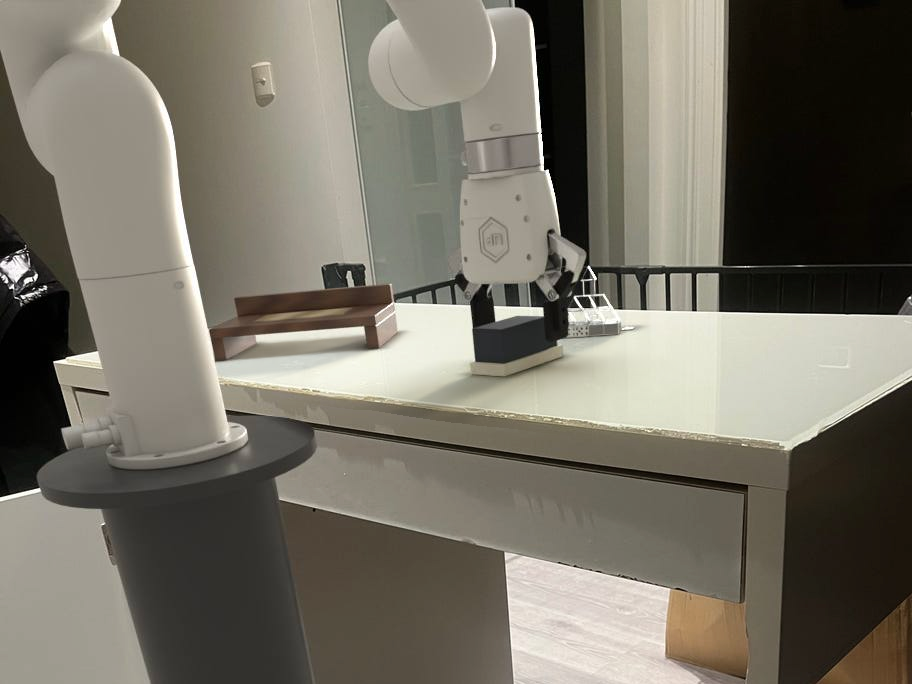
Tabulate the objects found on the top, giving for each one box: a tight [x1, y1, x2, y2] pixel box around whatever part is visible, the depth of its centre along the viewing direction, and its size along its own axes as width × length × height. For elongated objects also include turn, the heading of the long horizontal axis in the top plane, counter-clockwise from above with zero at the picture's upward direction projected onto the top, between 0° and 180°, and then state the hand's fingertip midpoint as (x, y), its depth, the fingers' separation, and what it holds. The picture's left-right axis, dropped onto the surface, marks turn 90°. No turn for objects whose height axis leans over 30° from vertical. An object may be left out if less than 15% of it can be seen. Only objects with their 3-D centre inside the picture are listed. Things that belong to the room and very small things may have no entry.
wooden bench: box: [208, 283, 399, 362], centre depth 126 cm, size 22×12×6 cm, turn 83°
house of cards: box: [564, 265, 635, 339], centre depth 116 cm, size 9×9×8 cm
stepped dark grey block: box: [469, 315, 564, 378], centre depth 102 cm, size 10×5×5 cm, turn 140°
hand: (520, 338), depth 102 cm, fingers open, 9 cm apart
